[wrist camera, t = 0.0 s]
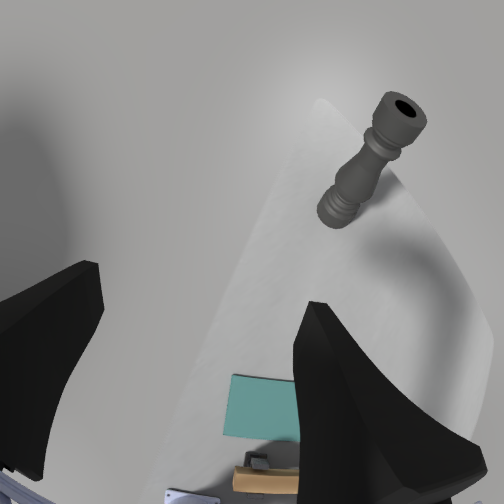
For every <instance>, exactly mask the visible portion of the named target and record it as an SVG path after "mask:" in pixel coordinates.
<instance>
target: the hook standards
mask: <svg viewBox="0 0 504 504" xmlns="http://www.w3.org/2000/svg"><path fill="white" fill-rule="evenodd" d="M269 465H270V464H269V463H268V461H267V454H255V453H245V459H244V465H243V467H251V468H253V469H263V470H269ZM246 494H247V498H252V499H263V496H264V493H251V492H246Z"/></svg>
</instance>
